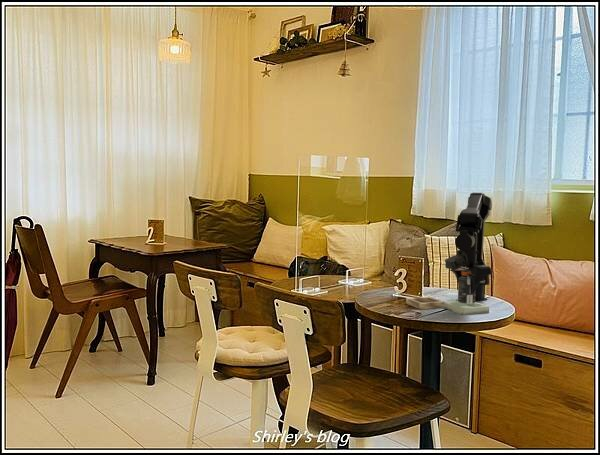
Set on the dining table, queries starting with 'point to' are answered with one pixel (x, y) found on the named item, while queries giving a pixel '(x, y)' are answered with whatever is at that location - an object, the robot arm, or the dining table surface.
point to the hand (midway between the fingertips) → (466, 291)
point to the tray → (466, 307)
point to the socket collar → (425, 302)
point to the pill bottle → (465, 289)
